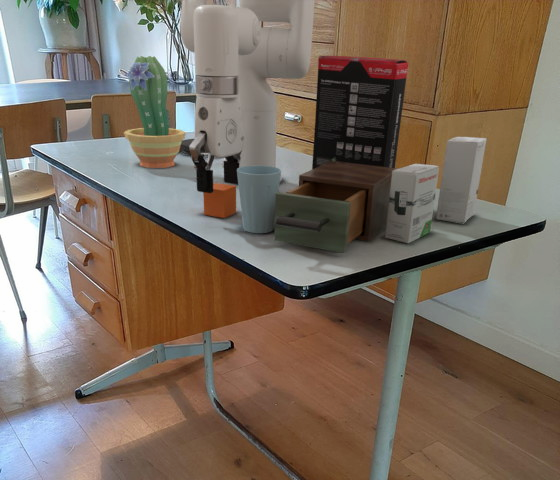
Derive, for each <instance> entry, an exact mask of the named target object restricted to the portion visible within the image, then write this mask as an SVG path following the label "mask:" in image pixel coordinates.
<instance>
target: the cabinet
mask: <svg viewBox="0 0 560 480" xmlns="http://www.w3.org/2000/svg"><path fill="white" fill-rule="evenodd" d="M396 169H398V168H396V167H395V168H388V167H380V166H371V165H363V164H354V163H346V162H337V161H330V162H328V163H326V164H324V165H321V166H319V167H317V168H315V169H312V168H311V169H310V170H308V171H305V172H303V173H301V174H299V175H298V186H300V185H302V184H304V183H306V182H308V181H311V182H319V183H326V184H334V185H341V186H349V187H356V188H364V189H369V193H368V203H367V212H366V222H365V231H364V232H362V233H361V234H360V235H359V236H357V237H356V238H355V239H354V240H357V241H363V242H369V241H370V240H372V238H374V237H375V236H377V234H379V233H380V232H381V231H382V230H383V229H385V228H386V225H387V215H388V206H389V198H390V188H391V179H392V171H393V170H396Z"/></svg>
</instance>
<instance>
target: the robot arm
mask: <svg viewBox="0 0 560 480" xmlns="http://www.w3.org/2000/svg"><path fill="white" fill-rule="evenodd" d="M181 2H182V3H181V10H180V21H179V22H180V23H179V29H180V32H179V33H180V37H181V41H182V44H183V45H184V47H185V48H186V49H187V50H188V51H189V52H190V53H193V54H194V75H195V76H194V81H195V82H194V83H195V96H196V99H195V108H194V111H195V112H194V139H195V140H194V141H193V142H192V143H191V145H190V146H189V149H190V152H191V155H190V156H191V161H192V163H193V164H194V165H193V167H194V169H195V172H196V173H195V175H196V191H197V192H199V193H203V192H205V193H212V192H213V184H214V170H213V169H212V166H213V163H214V160H215V158H216V159H222V163H221V167H222V168H223V182H224V184H231V185H238V177H237V169H238V168H239V167H243V166H253V165H261V166H271V167H276V168H277V166H276V165H277V164H276V163H277V161H276V160H277V128H278V127H277V125H278V121H277V120H278V100H277V96H276V94H275V92H274V90H273V89H272V87H271V85H270V84H269V83H268V81H267V79H283V80H284V79H286V80H298V79H302V78H304V77H306V76H307V74H308V72H309V70H310V65H311V60H312V59H311V58H312V48H313V47H312V46H313V32H314V17H315V5H316V4H315V2H316V0H239V6H230V5H223V4H206V2H207V0H182V1H181ZM260 22H261V23H262V22H264V23H286V24H287V23H288V24H289V25H291V28H283V27H282V28H281V27H266V26H265V27H263V26H261V23H260ZM282 180H283V176H282V174H281V176H280V182H282Z"/></svg>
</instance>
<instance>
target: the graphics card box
mask: <svg viewBox="0 0 560 480" xmlns="http://www.w3.org/2000/svg"><path fill="white" fill-rule="evenodd" d="M317 63H318V65H317V67H318V68H317V81H316V98H315V99H316V102H315V119H314V135H313V148H312V165H311V170H312V169H315V168H317V167H319V166H321V165H324V164H326V163H328V162H330V161H337V162H346V163H354V164H363V165H371V166H380V167H388V168H396V161H397V154H398V146H399V137H400V131H401V123H402V115H403V108H404V100H405V93H406V84H407V78H408V72H409V71H408V70H409V62H408V61H407V60H404V59H397V58H396V59H395V58H383V57H382V58H380V57H366V56H365V57H364V56H348V55H347V56H346V55H319V56H318V58H317Z"/></svg>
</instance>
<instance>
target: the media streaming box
mask: <svg viewBox="0 0 560 480" xmlns="http://www.w3.org/2000/svg"><path fill="white" fill-rule="evenodd" d="M194 140H195V138H188V139H183V140H182V142H181V146H180V150H179V152H178V153H181V154H185V155H189V156H192V155H191V152H190V149H189V146H190V145H191V143H192V142H193V141H194Z"/></svg>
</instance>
